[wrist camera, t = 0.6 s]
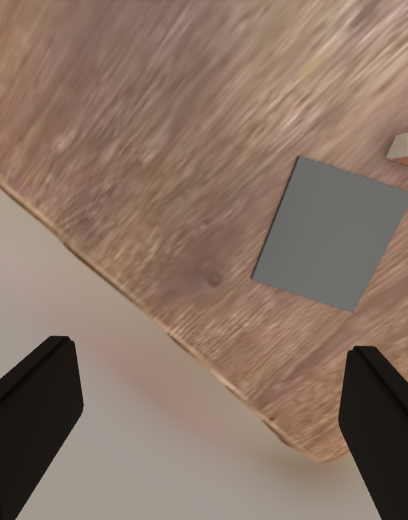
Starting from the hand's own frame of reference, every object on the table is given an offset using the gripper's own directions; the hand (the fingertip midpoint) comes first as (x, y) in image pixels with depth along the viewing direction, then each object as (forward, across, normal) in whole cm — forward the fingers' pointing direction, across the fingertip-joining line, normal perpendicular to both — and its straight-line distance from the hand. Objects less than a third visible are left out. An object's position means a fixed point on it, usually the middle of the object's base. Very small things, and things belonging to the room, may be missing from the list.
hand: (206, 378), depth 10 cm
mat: (+28, -13, 0) cm, 31 cm away
